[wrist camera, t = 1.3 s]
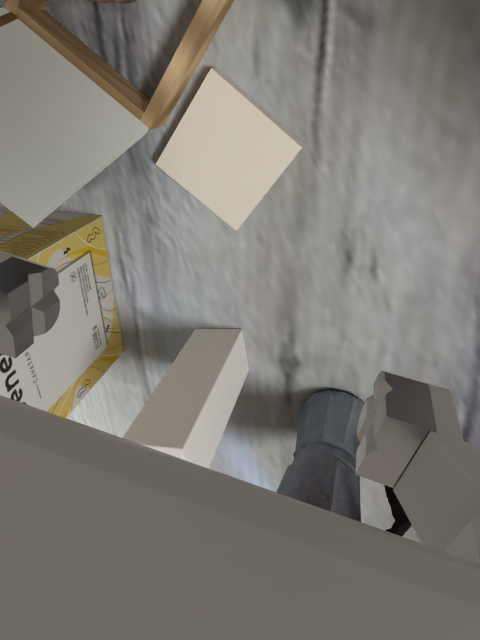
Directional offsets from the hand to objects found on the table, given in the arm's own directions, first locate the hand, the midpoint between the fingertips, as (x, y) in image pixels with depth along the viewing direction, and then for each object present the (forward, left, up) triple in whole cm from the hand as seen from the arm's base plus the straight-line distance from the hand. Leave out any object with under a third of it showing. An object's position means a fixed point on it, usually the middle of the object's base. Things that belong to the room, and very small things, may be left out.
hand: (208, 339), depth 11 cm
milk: (+26, +6, -33) cm, 43 cm away
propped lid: (+12, -20, -30) cm, 38 cm away
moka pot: (+23, +22, -33) cm, 46 cm away
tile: (+7, -6, -33) cm, 34 cm away
